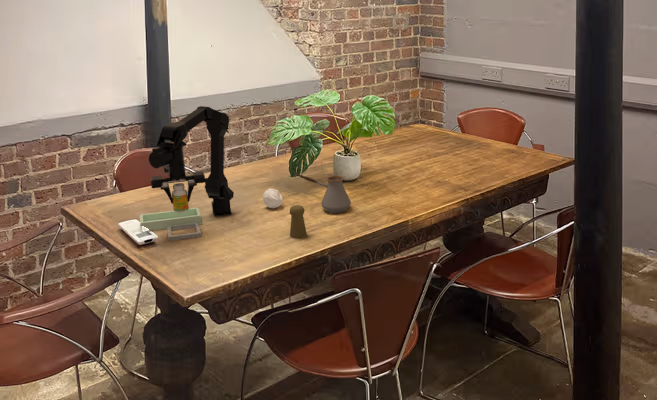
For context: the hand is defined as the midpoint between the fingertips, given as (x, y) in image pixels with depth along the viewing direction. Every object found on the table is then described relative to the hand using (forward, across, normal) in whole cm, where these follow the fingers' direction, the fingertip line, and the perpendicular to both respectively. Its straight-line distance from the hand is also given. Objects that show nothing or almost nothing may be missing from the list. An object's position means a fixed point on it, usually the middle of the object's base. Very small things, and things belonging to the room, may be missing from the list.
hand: (180, 202), depth 257 cm
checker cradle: (+12, 0, 0) cm, 12 cm away
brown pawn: (+12, -39, +16) cm, 44 cm away
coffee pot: (+12, -54, -6) cm, 56 cm away
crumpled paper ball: (+12, -36, -16) cm, 41 cm away
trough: (+12, +4, -12) cm, 17 cm away
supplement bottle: (+3, 0, 0) cm, 3 cm away
